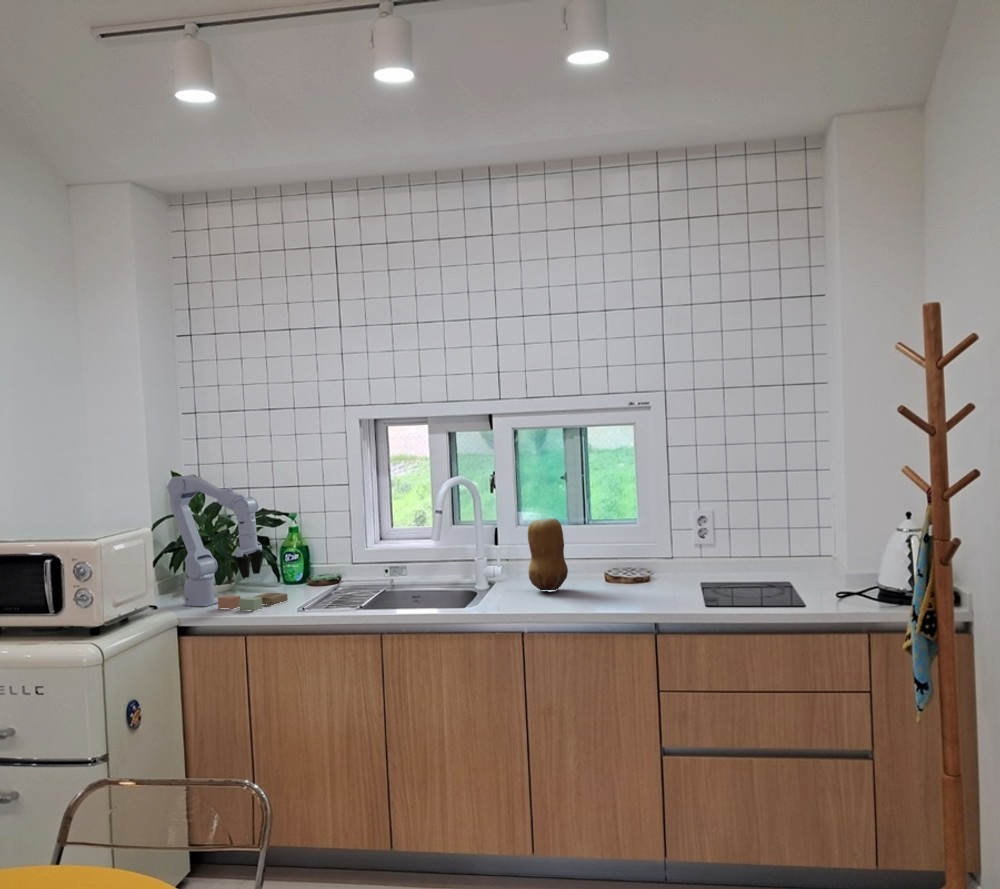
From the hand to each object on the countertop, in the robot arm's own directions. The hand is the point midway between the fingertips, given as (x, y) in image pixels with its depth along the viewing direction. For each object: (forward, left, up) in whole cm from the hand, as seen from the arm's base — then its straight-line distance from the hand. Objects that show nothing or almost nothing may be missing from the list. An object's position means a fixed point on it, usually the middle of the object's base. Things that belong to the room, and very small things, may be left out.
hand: (251, 575), depth 315 cm
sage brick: (+3, -5, -11) cm, 12 cm away
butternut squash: (+85, +49, -11) cm, 99 cm away
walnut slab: (+2, +7, -11) cm, 13 cm away
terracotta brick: (-6, -5, -11) cm, 13 cm away
